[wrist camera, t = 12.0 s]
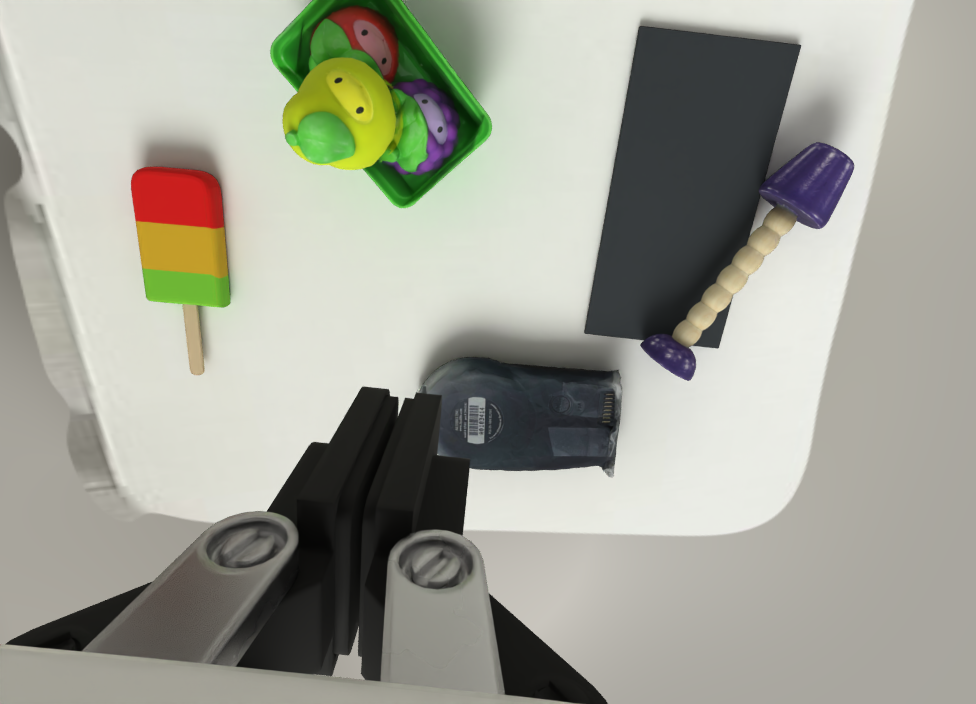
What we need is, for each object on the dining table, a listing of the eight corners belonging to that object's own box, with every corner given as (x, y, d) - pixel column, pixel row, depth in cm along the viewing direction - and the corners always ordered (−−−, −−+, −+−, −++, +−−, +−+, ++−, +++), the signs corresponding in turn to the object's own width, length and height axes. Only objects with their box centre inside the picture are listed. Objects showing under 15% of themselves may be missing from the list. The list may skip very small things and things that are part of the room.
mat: (638, 27, 34) (640, 25, 34) (798, 45, 34) (801, 44, 34) (584, 332, 41) (584, 333, 41) (716, 346, 41) (718, 348, 41)
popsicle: (222, 171, 38) (208, 172, 36) (238, 373, 43) (227, 382, 41) (141, 164, 38) (124, 165, 36) (168, 367, 43) (154, 376, 41)
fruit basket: (500, 130, 36) (498, 124, 26) (401, 217, 39) (363, 245, 28) (381, -26, 33) (325, -105, 23) (281, 77, 36) (188, 49, 25)
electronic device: (609, 343, 43) (415, 350, 41) (634, 380, 38) (415, 389, 36) (596, 440, 47) (419, 449, 46) (616, 484, 42) (420, 497, 41)
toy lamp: (694, 378, 41) (854, 176, 36) (699, 393, 37) (881, 166, 32) (640, 341, 42) (789, 139, 37) (638, 352, 37) (806, 123, 32)
